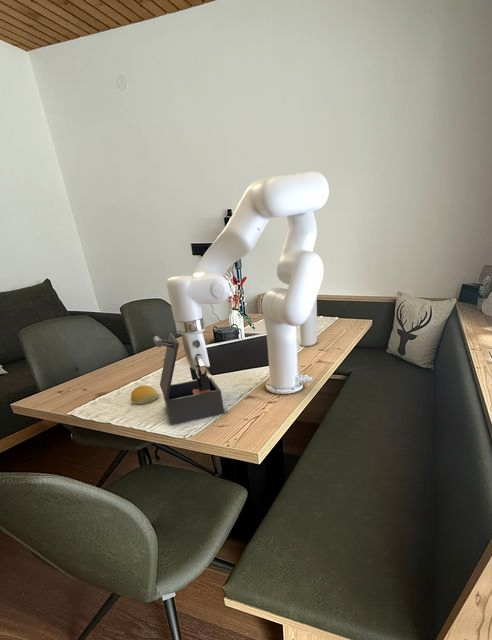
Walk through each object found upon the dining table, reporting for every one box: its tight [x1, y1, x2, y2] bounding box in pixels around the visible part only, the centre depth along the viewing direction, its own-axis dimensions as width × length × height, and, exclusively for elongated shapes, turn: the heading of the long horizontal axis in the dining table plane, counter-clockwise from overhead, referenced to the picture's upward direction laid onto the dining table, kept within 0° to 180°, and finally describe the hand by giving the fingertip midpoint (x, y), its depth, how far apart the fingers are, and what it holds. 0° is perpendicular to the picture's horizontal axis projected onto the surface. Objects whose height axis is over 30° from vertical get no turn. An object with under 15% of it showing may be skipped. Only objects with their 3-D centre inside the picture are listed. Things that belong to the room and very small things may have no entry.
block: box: [192, 389, 211, 395], centre depth 108 cm, size 5×5×5 cm
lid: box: [152, 332, 180, 401], centre depth 98 cm, size 16×12×5 cm
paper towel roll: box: [299, 296, 318, 347], centre depth 159 cm, size 7×6×21 cm
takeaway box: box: [162, 376, 225, 426], centre depth 107 cm, size 15×12×7 cm
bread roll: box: [130, 385, 159, 405], centre depth 116 cm, size 8×9×4 cm
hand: (201, 384), depth 106 cm, fingers open, 9 cm apart
